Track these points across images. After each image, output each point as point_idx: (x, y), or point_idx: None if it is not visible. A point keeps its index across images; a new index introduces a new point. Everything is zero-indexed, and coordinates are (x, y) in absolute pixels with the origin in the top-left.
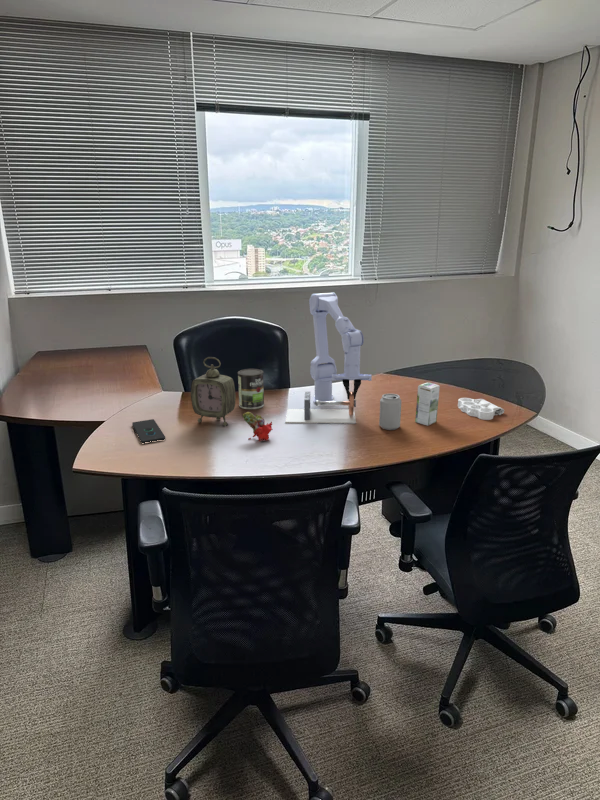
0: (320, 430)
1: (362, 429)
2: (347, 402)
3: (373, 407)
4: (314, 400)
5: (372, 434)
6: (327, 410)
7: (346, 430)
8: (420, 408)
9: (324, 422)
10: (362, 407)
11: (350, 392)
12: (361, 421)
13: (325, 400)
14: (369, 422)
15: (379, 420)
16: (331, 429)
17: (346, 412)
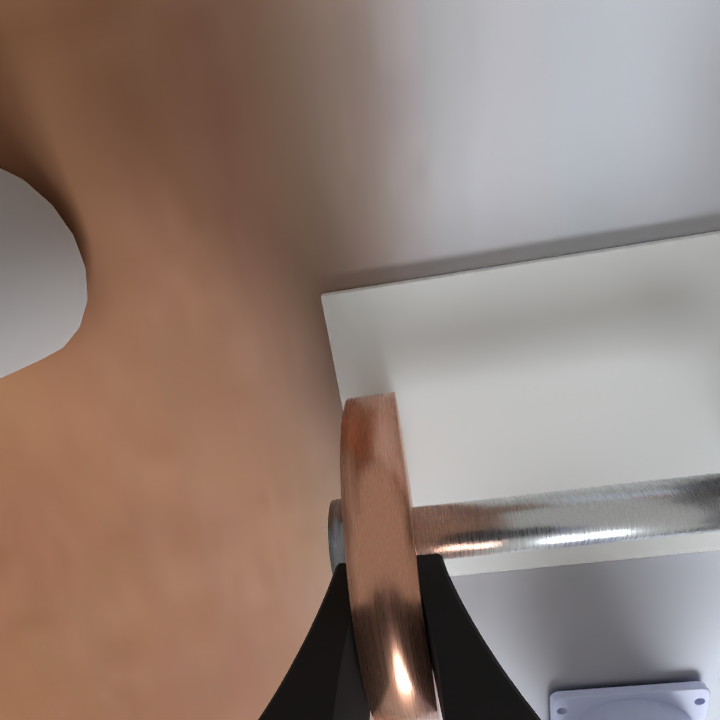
0: (689, 14)
1: (235, 148)
2: (436, 529)
3: (240, 648)
4: (700, 709)
5: (103, 9)
6: None
7: (394, 80)
8: None
9: (639, 245)
10: None
11: (411, 668)
12: (280, 362)
13: (616, 709)
14: (207, 349)
15: (49, 260)
16: (560, 78)
17: None
